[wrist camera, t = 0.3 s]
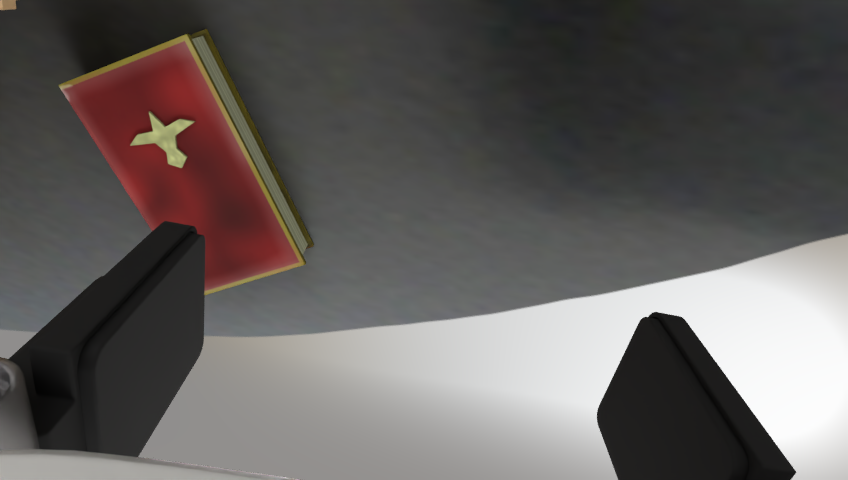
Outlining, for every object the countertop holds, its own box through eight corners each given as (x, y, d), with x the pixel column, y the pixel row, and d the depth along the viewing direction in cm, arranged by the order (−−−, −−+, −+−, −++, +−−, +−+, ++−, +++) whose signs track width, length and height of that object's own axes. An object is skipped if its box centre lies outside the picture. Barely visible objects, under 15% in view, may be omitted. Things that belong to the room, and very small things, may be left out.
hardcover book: (207, 277, 54) (190, 300, 50) (83, 77, 45) (51, 87, 41) (313, 244, 52) (304, 266, 48) (206, 28, 43) (185, 34, 39)
